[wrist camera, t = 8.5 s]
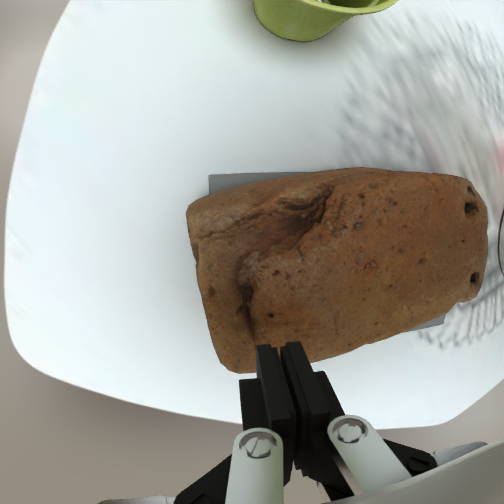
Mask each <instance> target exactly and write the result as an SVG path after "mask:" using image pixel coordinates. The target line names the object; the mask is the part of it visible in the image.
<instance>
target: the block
mask: <svg viewBox="0 0 504 504" xmlns="http://www.w3.org/2000/svg"><path fill="white" fill-rule="evenodd" d="M186 217H187V226H188V233H189V237H190V242H191V246H192V251H193V255H194V257H195V259H196V274H197V282H198V286H199V289H200V293H201V296H202V301H203V306H204V310H205V314H206V318H207V323H208V328H209V331H210V335H211V339H212V343H213V346H214V348H215V351H216V354H217V356H218V358H219V361H220V363H221V364H223V365H224V366H225V367H226V368H227V369H228V370H229V371H232V372H235V373H238V374H242V373H256V372H257V369H256V345H261V344H271V347H277V350H278V354H279V357H280V347H281V346H285V343H286V342H294V341H300V342H301V344H302V346H303V348H304V351H305V353H306V355H307V358H308V360H309V362H310V363H313V362H317V361H321V360H325V359H328V358H332V357H335V356H339V355H341V354H344V353H347V352H350V351H352V350H354V349H356V348H358V347H360V346H362V345H365V344H371V343H374V342H377V341H380V340H384V339H387V338H389V337H392V336H394V335H397V334H400V333H403V332H406V331H408V330H411V329H413V328H416V327H418V326H420V325H422V324H424V323H426V322H428V321H431V320H433V319H435V318H437V317H439V316H441V315H443V314H446V313H447V312H448V311H449V310H450V309H451V308H452V307H453V306H454V305H455V303H457V302H467V301H469V300H471V299H473V298H475V297H476V296H477V294H478V292H479V290H480V288H481V285H482V280H483V276H484V271H485V266H486V260H487V254H488V236H487V227H488V218H487V207H486V205H485V203H484V201H483V200H482V198H481V197H480V195H479V193H478V192H477V191H476V190H475V188H474V187H473V185H472V183H471V182H470V181H469V180H467V179H465V178H461V177H457V176H453V175H447V174H438V173H432V174H429V173H423V172H404V171H391V170H384V169H376V168H364V167H360V168H345V169H337V170H328V171H319V172H312V173H306V174H299V175H292V176H286V177H280V178H275V179H269V180H264V181H259V182H254V183H250V184H245V185H241V186H237V187H234V188H230V189H227V190H223V191H220V192H217V193H214V194H211V195H208V196H205V197H203V198H200V199H198V200H196V201H194V202H193V203H192V204H190V205H189V206H188V209H187V211H186Z"/></svg>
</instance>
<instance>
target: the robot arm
mask: <svg viewBox="0 0 504 504" xmlns="http://www.w3.org/2000/svg"><path fill="white" fill-rule="evenodd" d="M499 252H500V262H501V268H502V271H503V274H504V216H503V221H502V225H501V232H500V243H499ZM256 369H257V378H255V379H241V380H239V388H240V401H241V413H242V423H243V432H242V433H241V434H239V435H238V437H237V438H236V439H235V442H234V446H233V452H232V454H231V455H230V456H228V457H227V458H226V459H225V460H223V461H222V462H221V463H220V464H218V465H217V466H216V467H214V468H213V469H212V470H211V471H209V472H208V473H207V474H205V475H204V476H203V477H201V478H200V479H198V480H197V481H196V482H194V483H193V484H192V485H190V486H189V487H187V488H186V489H185V490H183V491H182V492H181V493H180V494H179V495H177V496H176V497H168V498H166V497H165V495H163V496H155V497H145V498H133V499H116V500H115V499H114V500H105V501H101V502H100V503H98V504H283V487H284V486H285V485H286V484H287V483H288V482H289V481H290V476H291V471H292V465H293V461H294V465H295V468H296V470H299V469H301V471H302V475H303V477H304V476H308V477H309V478H311V479H313V480H315V481H317V487H318V489H319V491H320V493H321V495H322V497H323V498H324V500H325V502H326V503H322V504H504V440H500V441H497V442H493V443H491V444H487V443H485V442H481V441H479V442H473V443H469V444H465V445H461V446H456V447H452V448H447V449H443V450H437V451H434V452H433V454H429V453H427V452H425V451H422V450H418V449H415V448H411V447H408V446H405V445H401V444H398V443H395V442H392V441H389V440H386V439H383V438H381V437H380V436H379V434H378V433H377V432H376V430H375V429H374V428H373V427H372V425H371V424H370V423H369V422H368V421H367V420H366V419H364V418H362V417H360V416H355V415H345V413H344V411H343V409H342V407H341V405H340V403H339V401H338V398H337V396H336V394H335V392H334V390H333V388H332V386H331V384H330V382H329V379H328V377H327V375H326V373H325V372H324V371H318V372H313V369H312V367H311V365H310V362H309V360H308V358H307V355H306V353H305V351H304V348H303V346H302V344H301V342H300V341H294V342H286V343H285V346H281V347H280V357H279V354H278V350H277V347H271V344H261V345H256Z"/></svg>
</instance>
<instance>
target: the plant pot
mask: <svg viewBox="0 0 504 504" xmlns="http://www.w3.org/2000/svg"><path fill="white" fill-rule="evenodd" d="M397 1H398V0H323V2H324V3H322V2H319V1H318V0H254V8H255V13H256V15H257V17H258V19H259V21H260V22H261V23H262V25H263V26H264V27H265V28H267V29H268V30H269V31H270V32H272V33H273V34H275V35H277V36H279V37H281V38H286V39H292V40H298V41H312V40H315V39H318V38H321V37H322V36H324V35H325V34H327V33H328V32H330V31H331V30H333V29H334V28H336V27H337V26H339V25H340V24H342V23H343V22H345V21H347V20H348V19H350V18H351V17H353V16H355V15H363V14H371V13H376V12H380V11H382V10H385V9H387V8H389V7H390V6H392V5H393V4H395V3H396V2H397Z"/></svg>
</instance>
